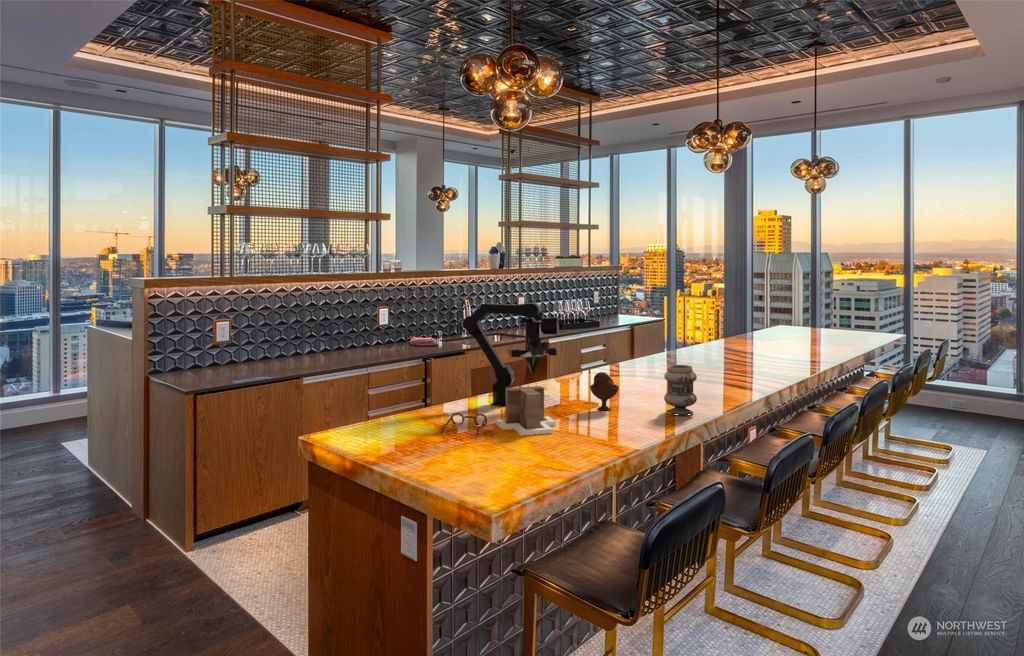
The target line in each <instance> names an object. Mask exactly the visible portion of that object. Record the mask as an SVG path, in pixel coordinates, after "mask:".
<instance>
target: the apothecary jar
mask: <svg viewBox="0 0 1024 656" xmlns="http://www.w3.org/2000/svg"><path fill="white" fill-rule="evenodd" d="M697 378H698V376H697V374H696V373H695V371H693V366H692V365H688V364H673V365H672V364H671V365H669V367H668V370H667V371H666V372H665V374H664V379H665V380H666V381H667V392H666V393H665V394H664V396H663V401H664V402H665V403H666V404H667V405H669V406H671V407H672V408H670V409H668V410H666V413H667V412H669V413H671V414H678V415H688V414H692V413H694V412H693V410H691V409H690V408H689V409H688V408H687V407H691V406H693V405H694V404H696V403H697V400H698V398H697V395H696V394H695V393H694V382H695V381H696V380H697Z"/></svg>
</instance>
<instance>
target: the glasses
mask: <svg viewBox="0 0 1024 656" xmlns="http://www.w3.org/2000/svg"><path fill="white" fill-rule="evenodd" d="M455 415H456V416H457V415H458V416H460V417H461V422H458V423H457V422H455V421H454V416H455ZM480 416H481V417H483V418H484V420H483V421H482V423H481V424H480V423H478V422H477V417H480ZM465 419H473V421H474V424H475V425H476V426H477V425H481V426H478V427H477V428H476V437H478V436H479V430H480V429H481V428H482V427H485V426H486V425H487V424H488V418H487V416H486V415H485V414H483V413H477V414H475V415H474V416H472V415H465V416H464V414H462V413H461V412H454V413H453V414H452V415H451V416H450V417H449V419H448V420H447V422H446V423H444V424H443V425H441V430H440V431H441V432H440V434H441V435H443V433H444V428H445V427H447V426H448V425H449V423H450V422H451V423H452V424H453V425H455V424H461V425H460V426H462V425H463V424H464V422H465ZM477 435H478V436H477Z"/></svg>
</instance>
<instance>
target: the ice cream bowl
mask: <svg viewBox="0 0 1024 656" xmlns="http://www.w3.org/2000/svg"><path fill="white" fill-rule="evenodd" d="M589 388H590V391H591V393H592V395H593V396H595V397H596V398H597V399H598V400H601V406H599V407H597V408H596V410H599V411H598V412H601V411H609V412H611V411H612V408H610V407H608V405H607V402H608V400H610V399H612V398H614V397H615V396H616V395H617V393H618V391H619V388H620V386H619V385H617V384H614V379H613V378H612V377H611V376H610V375H609V374H608V373H607V372H603V371H600V372H597V373H596V374H595V375H594V377H593V384H590V385H589ZM610 410H611V411H610Z"/></svg>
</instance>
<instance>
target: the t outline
mask: <svg viewBox="0 0 1024 656" xmlns="http://www.w3.org/2000/svg"><path fill="white" fill-rule="evenodd" d="M495 423H496V425H497V427H499V428H500V429H501V431H505V430H504V429H508V430H514V431H516V433H518V434H519V435H520V436H523V435H525V436H534V435H535V434H536V435H546V434H548V435H549V434H553V431H554V430H553V428H552V427H555V426H557V421H556V420H554V419H553V418H552V417H550V416H549V415H548V416H545V415H544V421H540V428H537V429H525V428H523V427H522V426H521V425H520V424H519V423H511V424H506V421H504V420H503V419H496V420H495ZM536 435H535V436H536ZM523 437H524V436H523Z"/></svg>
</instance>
